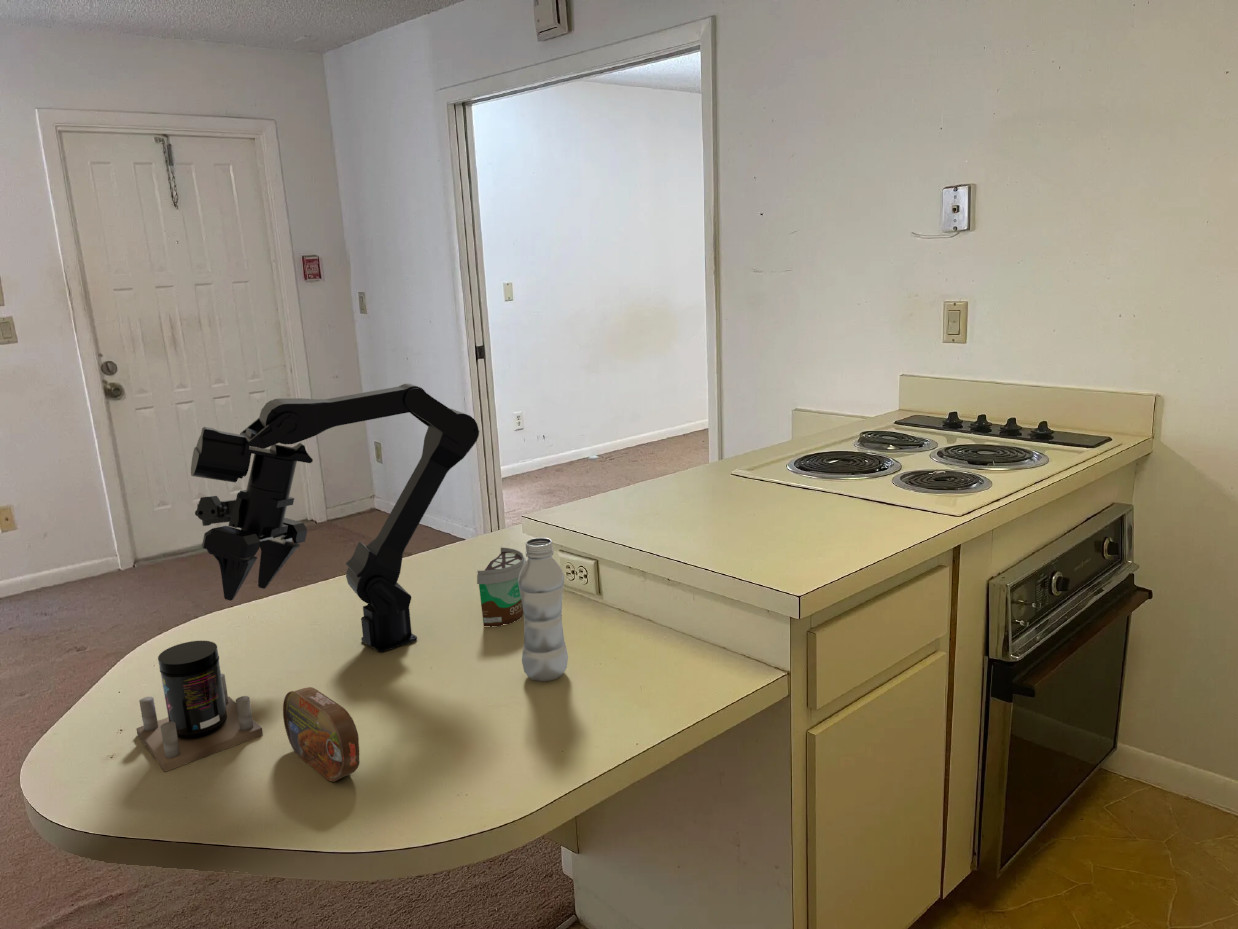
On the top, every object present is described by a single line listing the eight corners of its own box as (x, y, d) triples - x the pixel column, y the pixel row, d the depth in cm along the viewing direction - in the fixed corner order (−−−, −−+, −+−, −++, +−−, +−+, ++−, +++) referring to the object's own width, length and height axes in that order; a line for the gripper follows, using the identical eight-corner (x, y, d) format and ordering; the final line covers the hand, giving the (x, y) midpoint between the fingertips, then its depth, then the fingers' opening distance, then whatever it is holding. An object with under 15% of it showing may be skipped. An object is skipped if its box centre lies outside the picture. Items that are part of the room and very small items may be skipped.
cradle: (230, 703, 121) (225, 669, 120) (262, 734, 113) (257, 699, 112) (137, 735, 114) (131, 699, 113) (165, 772, 105) (158, 734, 104)
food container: (517, 633, 141) (513, 573, 139) (480, 630, 142) (476, 571, 140) (539, 603, 153) (536, 547, 150) (505, 601, 154) (501, 546, 151)
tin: (284, 745, 111) (276, 683, 109) (308, 735, 113) (300, 674, 111) (343, 794, 100) (335, 726, 98) (368, 782, 102) (361, 716, 100)
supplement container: (208, 709, 118) (196, 636, 115) (239, 722, 114) (228, 647, 112) (159, 732, 112) (146, 657, 110) (191, 747, 109) (178, 669, 106)
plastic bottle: (513, 681, 125) (505, 546, 120) (539, 661, 131) (532, 532, 126) (552, 690, 122) (545, 552, 117) (577, 670, 128) (571, 537, 123)
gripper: (249, 470, 136) (228, 569, 137) (177, 477, 117) (152, 591, 118) (318, 488, 135) (296, 587, 136) (256, 498, 116) (230, 612, 117)
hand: (245, 593), depth 127 cm, fingers open, 9 cm apart
